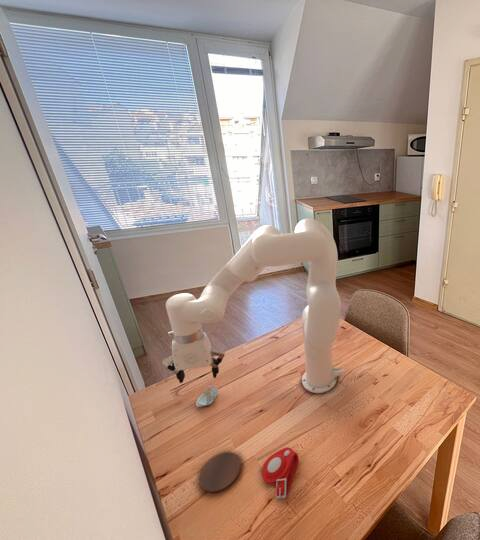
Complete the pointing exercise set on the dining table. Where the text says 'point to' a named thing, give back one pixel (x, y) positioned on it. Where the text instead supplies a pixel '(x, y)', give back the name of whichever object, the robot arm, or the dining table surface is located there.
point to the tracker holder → (281, 470)
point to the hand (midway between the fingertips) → (199, 377)
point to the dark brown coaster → (220, 472)
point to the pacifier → (207, 397)
